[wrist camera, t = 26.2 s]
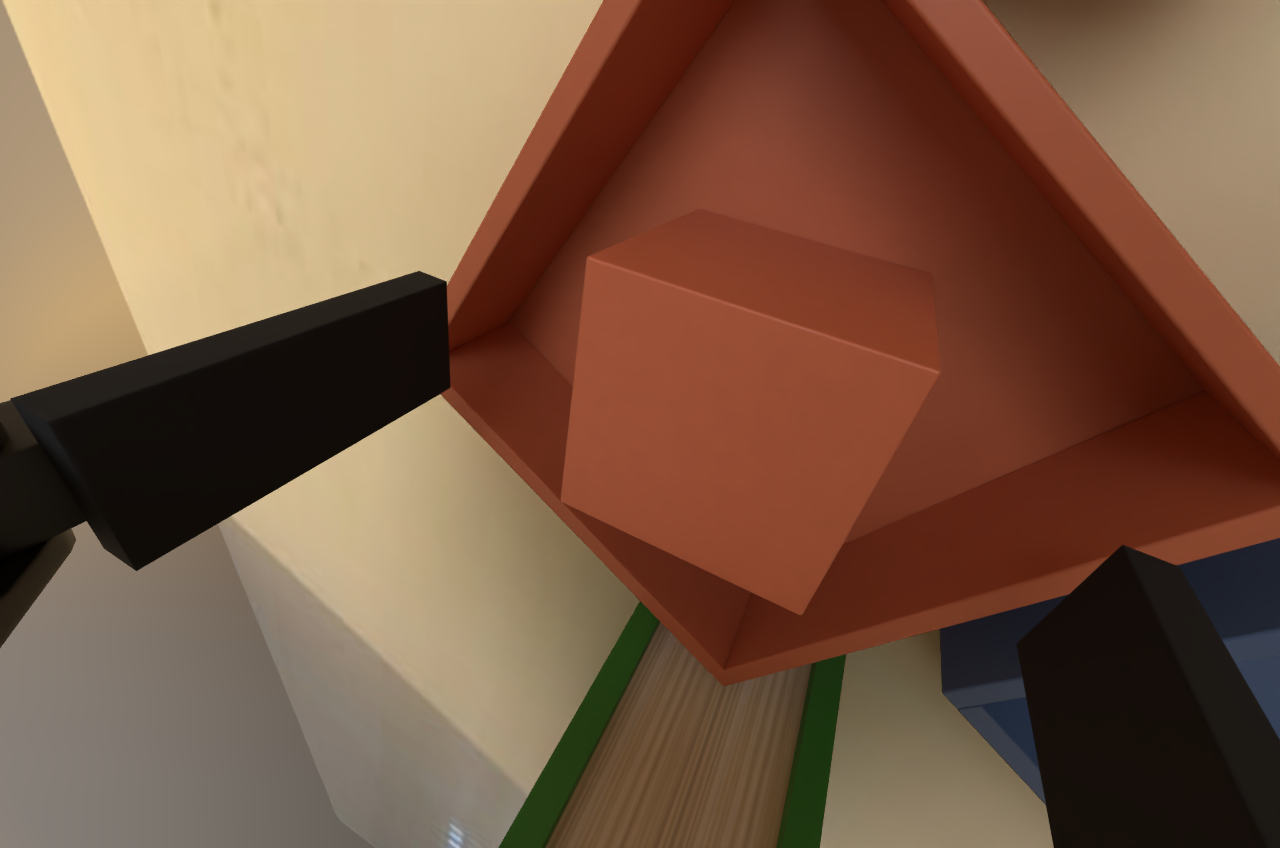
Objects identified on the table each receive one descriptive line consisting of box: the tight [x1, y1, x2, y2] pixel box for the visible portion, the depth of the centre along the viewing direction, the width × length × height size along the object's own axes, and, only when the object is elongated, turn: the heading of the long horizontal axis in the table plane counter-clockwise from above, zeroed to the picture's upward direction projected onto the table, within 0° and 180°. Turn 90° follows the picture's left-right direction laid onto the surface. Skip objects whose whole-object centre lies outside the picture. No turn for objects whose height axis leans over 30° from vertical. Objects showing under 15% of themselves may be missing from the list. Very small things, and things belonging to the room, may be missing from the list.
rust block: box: [561, 209, 941, 615], centre depth 12 cm, size 6×6×6 cm
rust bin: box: [441, 0, 1280, 686], centre depth 13 cm, size 14×14×4 cm
